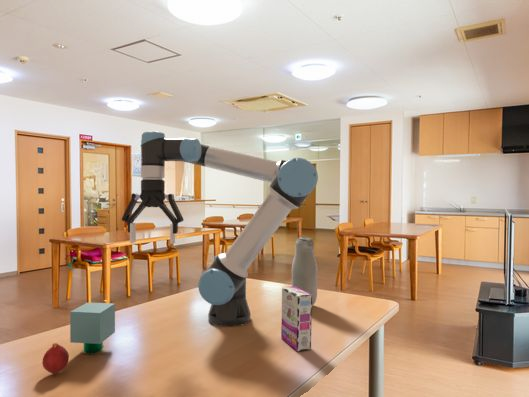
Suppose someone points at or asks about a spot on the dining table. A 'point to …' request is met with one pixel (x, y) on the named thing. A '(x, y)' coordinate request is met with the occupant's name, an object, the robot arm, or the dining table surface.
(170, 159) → the robot arm
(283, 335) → the candy bar box
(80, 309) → the seafoam cube
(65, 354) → the pomegranate
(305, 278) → the grey bottle
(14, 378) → the dining table surface
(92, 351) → the soda can
